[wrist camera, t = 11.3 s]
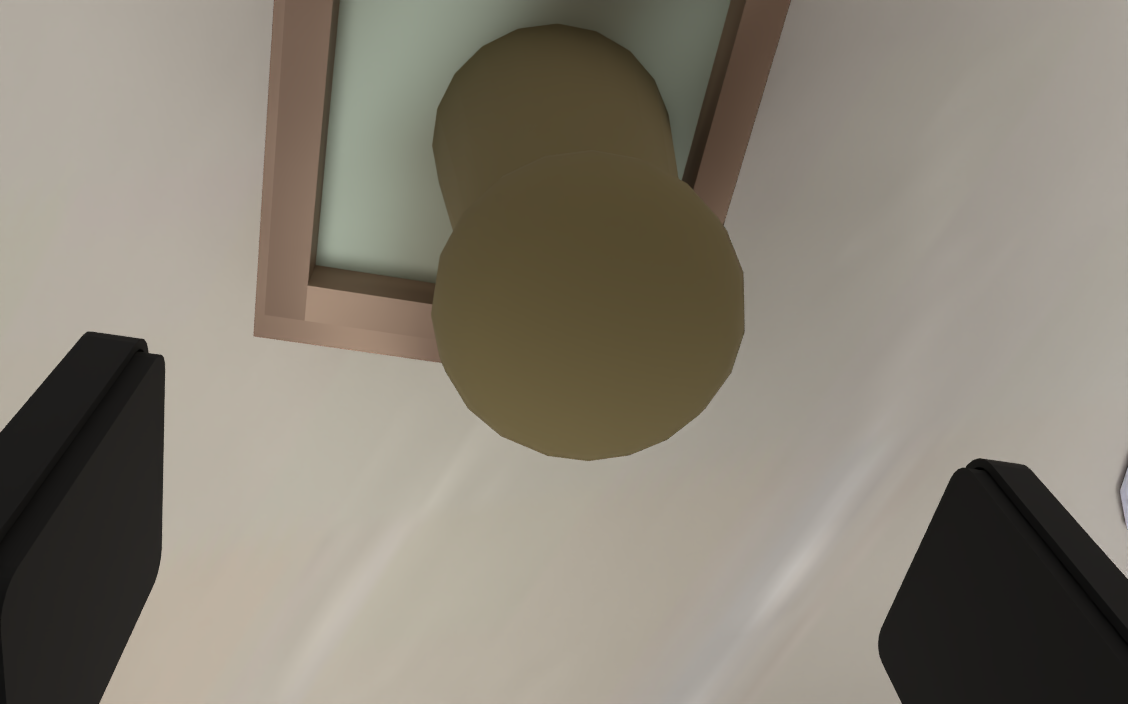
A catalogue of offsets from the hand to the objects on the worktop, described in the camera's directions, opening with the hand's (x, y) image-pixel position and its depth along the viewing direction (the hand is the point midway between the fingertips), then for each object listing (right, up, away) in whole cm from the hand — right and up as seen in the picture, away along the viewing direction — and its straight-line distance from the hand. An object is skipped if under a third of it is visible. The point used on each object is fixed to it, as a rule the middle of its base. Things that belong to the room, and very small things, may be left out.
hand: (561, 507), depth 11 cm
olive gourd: (0, +7, +13) cm, 15 cm away
